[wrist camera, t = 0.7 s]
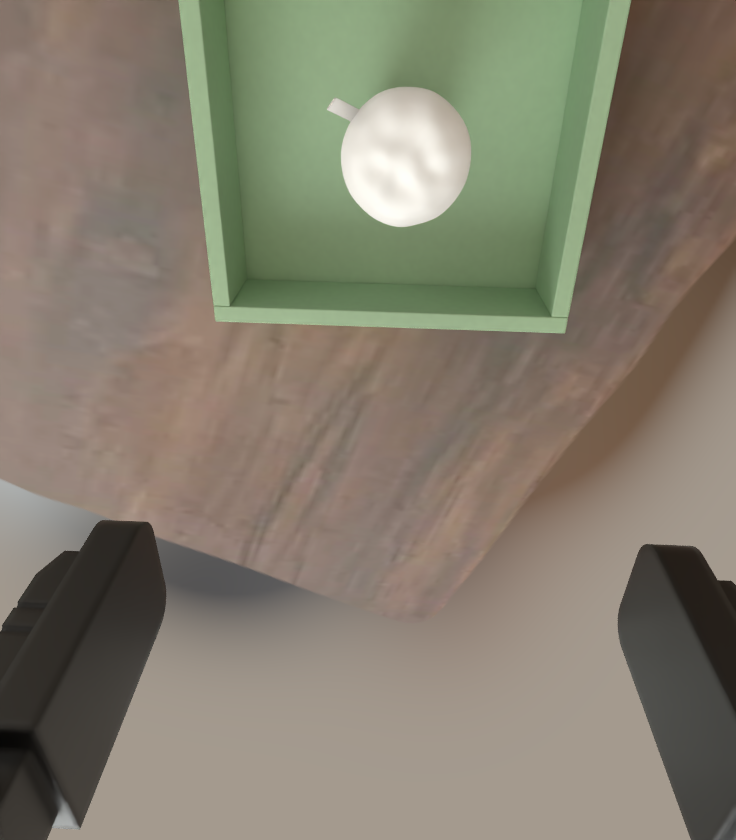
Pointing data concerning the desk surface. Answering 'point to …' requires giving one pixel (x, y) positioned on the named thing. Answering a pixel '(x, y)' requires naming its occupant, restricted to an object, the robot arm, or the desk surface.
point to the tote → (322, 141)
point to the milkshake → (404, 154)
